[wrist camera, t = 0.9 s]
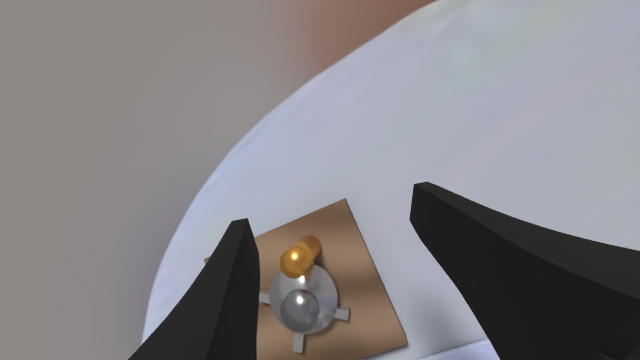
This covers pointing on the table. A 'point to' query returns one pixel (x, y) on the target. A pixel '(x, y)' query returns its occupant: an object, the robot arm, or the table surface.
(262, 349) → the walnut base
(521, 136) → the table surface
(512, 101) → the table surface
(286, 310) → the dial
